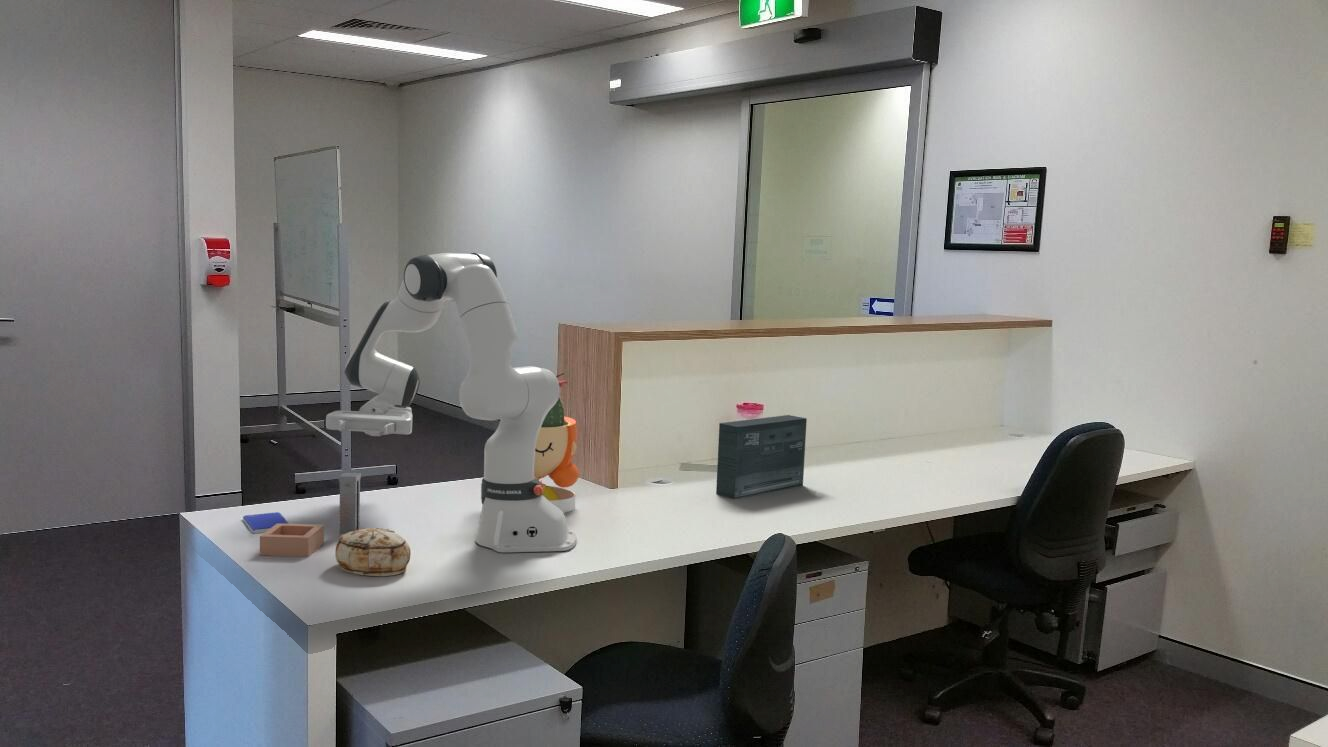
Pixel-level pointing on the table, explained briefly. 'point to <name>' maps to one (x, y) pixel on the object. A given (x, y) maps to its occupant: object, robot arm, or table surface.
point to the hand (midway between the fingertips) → (362, 429)
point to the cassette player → (760, 455)
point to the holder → (291, 540)
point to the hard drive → (263, 521)
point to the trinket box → (373, 552)
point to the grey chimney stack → (349, 502)
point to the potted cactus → (557, 456)
